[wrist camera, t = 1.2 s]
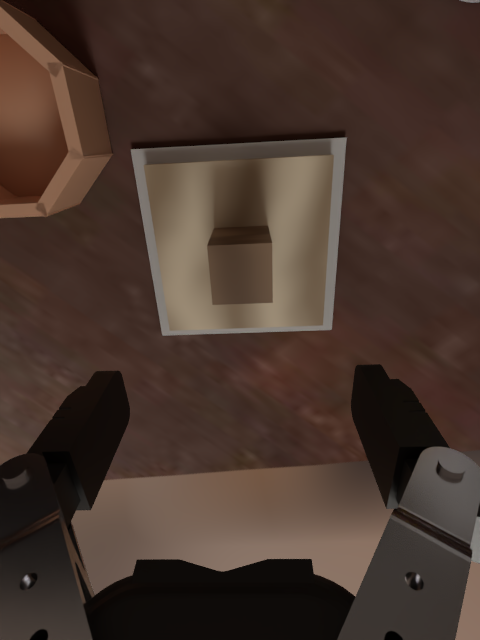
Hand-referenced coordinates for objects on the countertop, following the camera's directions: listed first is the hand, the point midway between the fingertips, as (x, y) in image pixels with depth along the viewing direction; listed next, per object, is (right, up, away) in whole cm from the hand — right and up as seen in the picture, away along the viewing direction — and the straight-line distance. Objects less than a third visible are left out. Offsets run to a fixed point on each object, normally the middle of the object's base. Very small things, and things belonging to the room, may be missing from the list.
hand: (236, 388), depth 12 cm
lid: (0, +8, +16) cm, 18 cm away
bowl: (-15, +16, +12) cm, 25 cm away
